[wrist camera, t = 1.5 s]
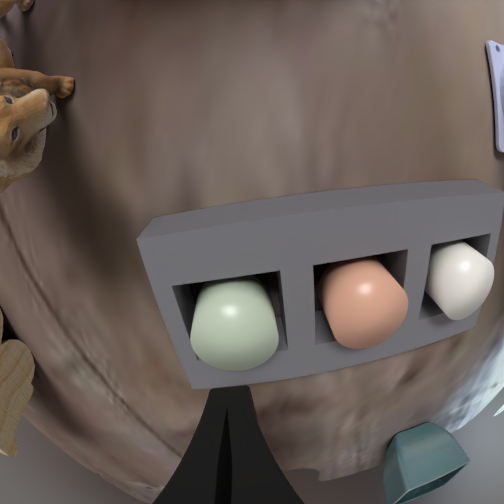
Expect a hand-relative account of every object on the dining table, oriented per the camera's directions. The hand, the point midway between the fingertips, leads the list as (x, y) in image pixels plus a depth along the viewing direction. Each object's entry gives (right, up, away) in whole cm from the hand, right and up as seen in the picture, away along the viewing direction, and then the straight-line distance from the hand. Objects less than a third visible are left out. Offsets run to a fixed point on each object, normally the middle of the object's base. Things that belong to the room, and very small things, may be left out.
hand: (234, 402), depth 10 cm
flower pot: (+21, -18, +19) cm, 33 cm away
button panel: (+6, +4, +7) cm, 10 cm away
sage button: (0, +3, +6) cm, 6 cm away
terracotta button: (+6, +4, +6) cm, 9 cm away
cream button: (+13, +5, +6) cm, 15 cm away
